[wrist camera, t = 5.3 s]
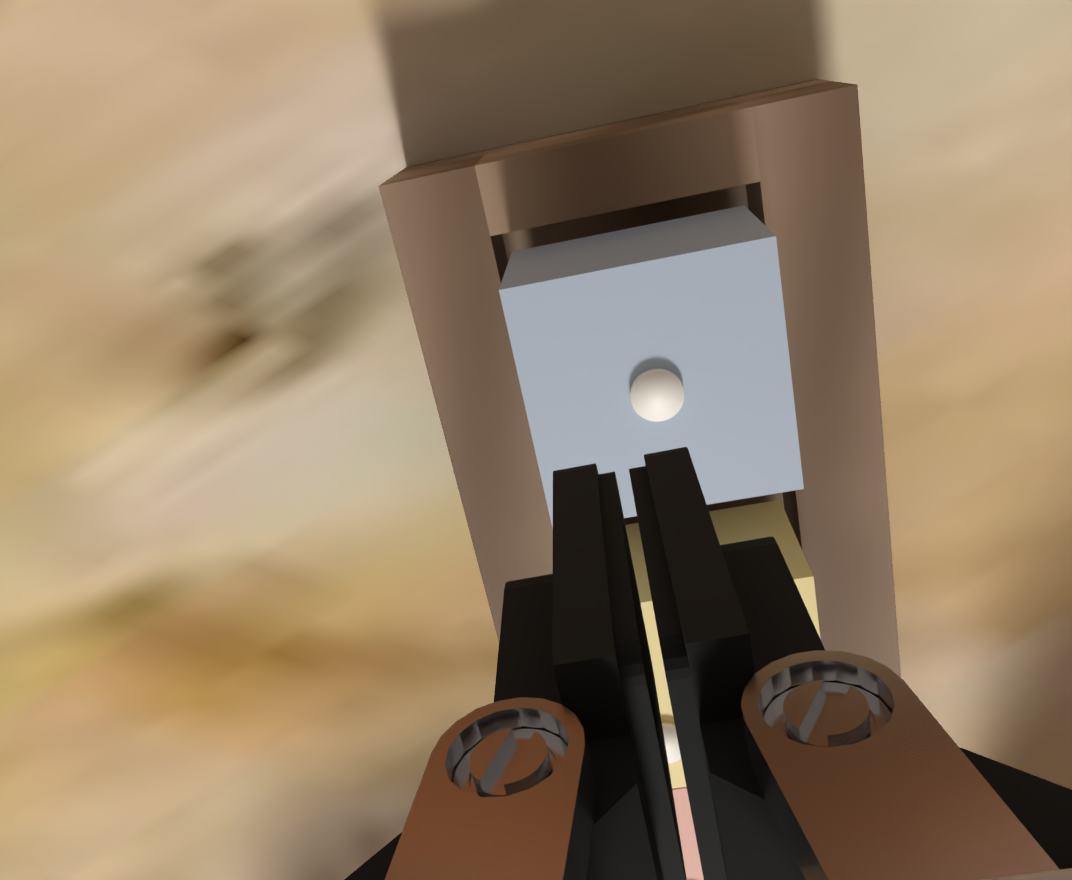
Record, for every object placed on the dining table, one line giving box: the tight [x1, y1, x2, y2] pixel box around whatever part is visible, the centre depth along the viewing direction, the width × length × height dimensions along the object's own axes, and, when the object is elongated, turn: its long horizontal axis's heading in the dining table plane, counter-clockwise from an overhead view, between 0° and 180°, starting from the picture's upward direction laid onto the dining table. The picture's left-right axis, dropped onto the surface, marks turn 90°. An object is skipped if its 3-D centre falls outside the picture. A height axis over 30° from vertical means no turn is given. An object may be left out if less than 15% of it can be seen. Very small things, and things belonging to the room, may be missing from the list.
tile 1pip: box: [499, 205, 804, 528], centre depth 19 cm, size 5×5×4 cm
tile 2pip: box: [625, 500, 820, 789], centre depth 22 cm, size 5×5×4 cm
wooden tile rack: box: [379, 80, 901, 678], centre depth 25 cm, size 10×23×3 cm, turn 12°
